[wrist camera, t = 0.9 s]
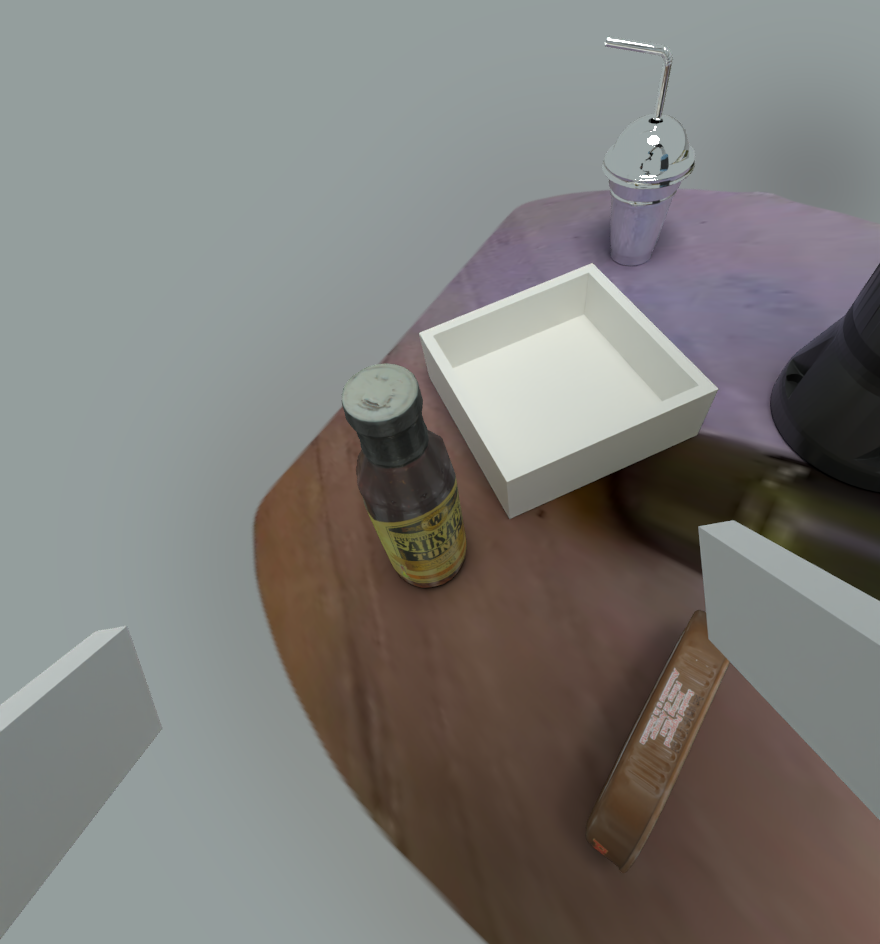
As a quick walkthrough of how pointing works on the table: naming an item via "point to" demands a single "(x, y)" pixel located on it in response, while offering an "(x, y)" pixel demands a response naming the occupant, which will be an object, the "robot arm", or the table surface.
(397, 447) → the sauce bottle
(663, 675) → the tin
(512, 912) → the table surface
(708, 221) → the table surface
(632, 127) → the cup with straw
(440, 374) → the box
